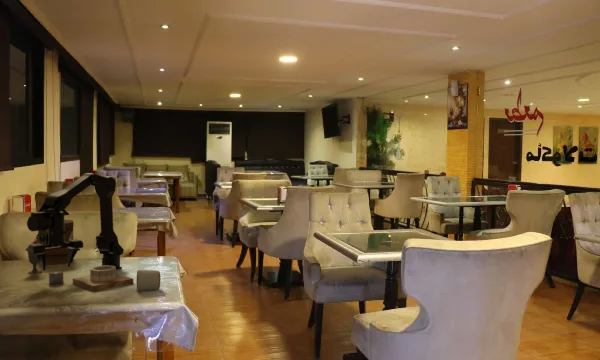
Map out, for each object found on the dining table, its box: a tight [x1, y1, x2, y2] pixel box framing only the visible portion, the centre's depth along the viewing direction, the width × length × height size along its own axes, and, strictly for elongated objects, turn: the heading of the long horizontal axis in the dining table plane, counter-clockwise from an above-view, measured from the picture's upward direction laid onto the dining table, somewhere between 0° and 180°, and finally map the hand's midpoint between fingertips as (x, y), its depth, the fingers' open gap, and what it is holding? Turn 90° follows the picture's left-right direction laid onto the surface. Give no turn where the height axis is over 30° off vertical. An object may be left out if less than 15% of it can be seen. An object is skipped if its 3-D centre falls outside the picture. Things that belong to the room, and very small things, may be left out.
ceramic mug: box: [136, 269, 161, 292], centre depth 192 cm, size 11×8×8 cm
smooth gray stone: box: [48, 270, 64, 286], centre depth 198 cm, size 5×5×4 cm
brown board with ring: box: [72, 265, 134, 293], centre depth 199 cm, size 16×16×6 cm
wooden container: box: [37, 218, 75, 265], centre depth 236 cm, size 15×15×22 cm
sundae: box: [25, 237, 42, 275], centre depth 213 cm, size 7×7×15 cm
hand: (56, 268), depth 198 cm, fingers open, 9 cm apart
